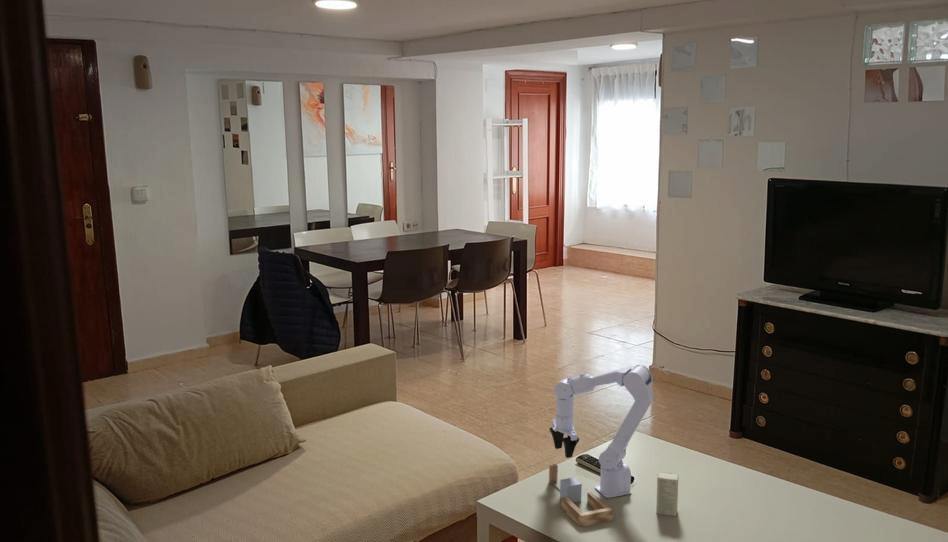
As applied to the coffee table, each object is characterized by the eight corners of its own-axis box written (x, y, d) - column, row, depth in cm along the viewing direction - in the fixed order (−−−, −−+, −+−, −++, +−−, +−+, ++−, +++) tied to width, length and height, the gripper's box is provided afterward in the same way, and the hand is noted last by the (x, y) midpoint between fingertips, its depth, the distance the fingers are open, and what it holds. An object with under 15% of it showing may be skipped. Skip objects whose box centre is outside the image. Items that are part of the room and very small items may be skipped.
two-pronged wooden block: (591, 501, 244) (591, 491, 244) (612, 520, 233) (612, 509, 232) (561, 507, 241) (561, 497, 240) (580, 526, 229) (581, 515, 228)
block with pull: (557, 479, 260) (558, 463, 259) (581, 501, 245) (581, 483, 244) (544, 481, 258) (544, 465, 257) (567, 504, 243) (567, 486, 242)
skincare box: (677, 510, 239) (679, 474, 237) (676, 517, 235) (678, 480, 233) (656, 507, 241) (658, 471, 239) (655, 513, 237) (657, 477, 235)
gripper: (544, 408, 260) (543, 446, 263) (564, 423, 247) (563, 463, 250) (562, 406, 263) (561, 443, 265) (583, 420, 250) (582, 459, 252)
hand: (563, 452), depth 258 cm, fingers open, 7 cm apart
